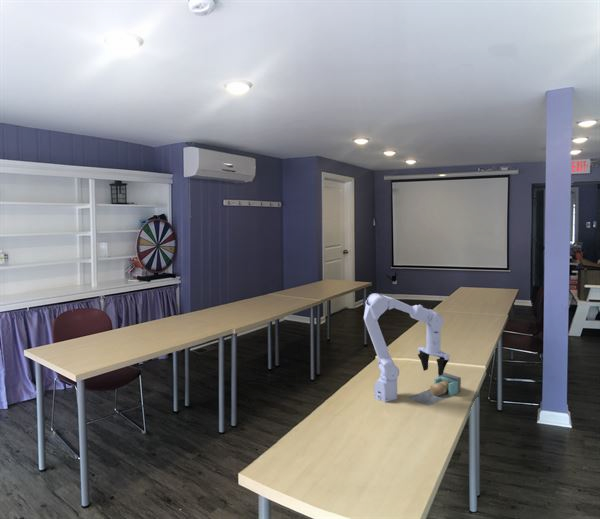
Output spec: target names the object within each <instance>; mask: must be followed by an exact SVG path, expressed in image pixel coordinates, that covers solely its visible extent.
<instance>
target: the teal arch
mask: <svg viewBox="0 0 600 519" xmlns="http://www.w3.org/2000/svg"><path fill="white" fill-rule="evenodd" d="M444 380H447V381H449V382H450V383H449V386H448V392H447V393H448V394H447V395H449V397H452V396H453V395H457V394H458V393H459V392H458V381H455V380H451V379H448V378H445V377H442V376H441V377H436V378H434V381H433V382H434V383H433V384H436V383H439V382H441V381H444Z"/></svg>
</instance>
